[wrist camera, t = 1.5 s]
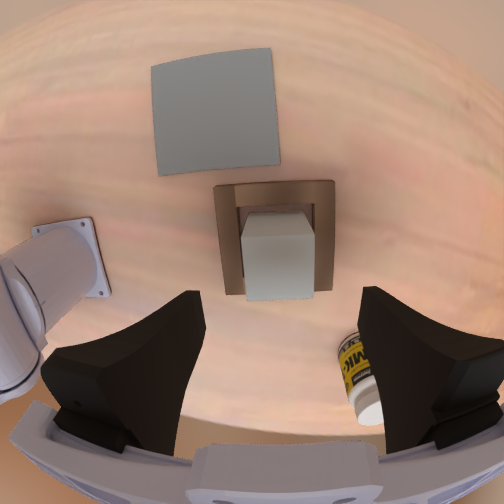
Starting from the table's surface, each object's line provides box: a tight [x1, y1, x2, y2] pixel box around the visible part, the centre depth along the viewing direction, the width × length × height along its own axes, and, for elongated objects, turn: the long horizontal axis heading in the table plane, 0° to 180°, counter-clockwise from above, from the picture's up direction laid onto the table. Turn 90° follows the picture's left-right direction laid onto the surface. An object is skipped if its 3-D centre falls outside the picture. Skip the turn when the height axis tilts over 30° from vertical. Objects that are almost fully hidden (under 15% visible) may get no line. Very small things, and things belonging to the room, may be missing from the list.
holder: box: [213, 180, 335, 295], centre depth 20 cm, size 8×8×1 cm
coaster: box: [151, 48, 280, 176], centre depth 17 cm, size 9×9×1 cm
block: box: [241, 210, 315, 301], centre depth 18 cm, size 4×4×6 cm
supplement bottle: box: [338, 333, 384, 426], centre depth 21 cm, size 5×5×8 cm
